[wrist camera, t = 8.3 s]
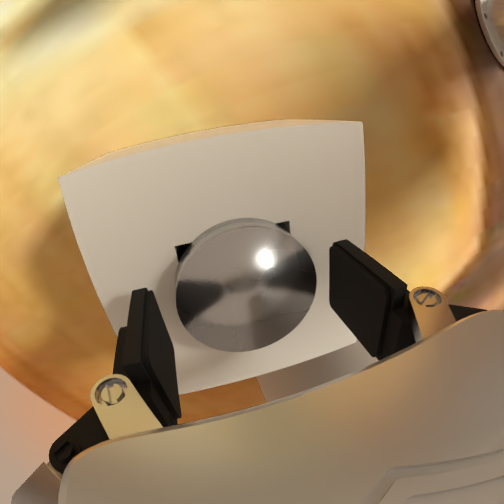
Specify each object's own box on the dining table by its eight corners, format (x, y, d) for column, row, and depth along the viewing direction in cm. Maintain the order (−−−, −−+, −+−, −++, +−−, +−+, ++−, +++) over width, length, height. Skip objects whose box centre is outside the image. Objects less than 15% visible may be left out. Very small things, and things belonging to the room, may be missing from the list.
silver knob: (247, 170, 20) (314, 213, 11) (257, 245, 22) (317, 331, 13) (164, 187, 19) (157, 248, 10) (182, 262, 21) (196, 364, 12)
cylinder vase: (248, 387, 30) (336, 597, 8) (243, 291, 25) (403, 605, 3) (349, 360, 33) (464, 522, 11) (369, 268, 27) (559, 454, 5)
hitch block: (280, 119, 20) (362, 121, 11) (294, 267, 25) (356, 342, 16) (110, 152, 17) (58, 177, 9) (152, 301, 23) (152, 399, 14)
